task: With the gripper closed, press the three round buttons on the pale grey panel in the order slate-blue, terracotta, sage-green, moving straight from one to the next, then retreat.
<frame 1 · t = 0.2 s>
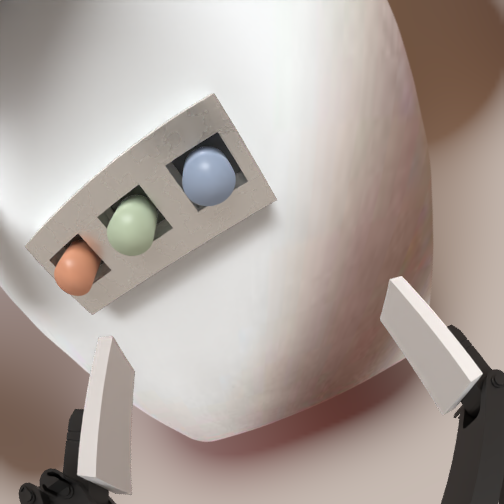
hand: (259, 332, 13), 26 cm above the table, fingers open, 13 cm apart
panel: (140, 207, 35), on the table
button slate: (207, 174, 29), point 5 cm above the table, slide at 0.0 cm
button terracotta: (78, 267, 32), point 5 cm above the table, slide at 0.0 cm
button sage: (133, 224, 31), point 5 cm above the table, slide at 0.0 cm
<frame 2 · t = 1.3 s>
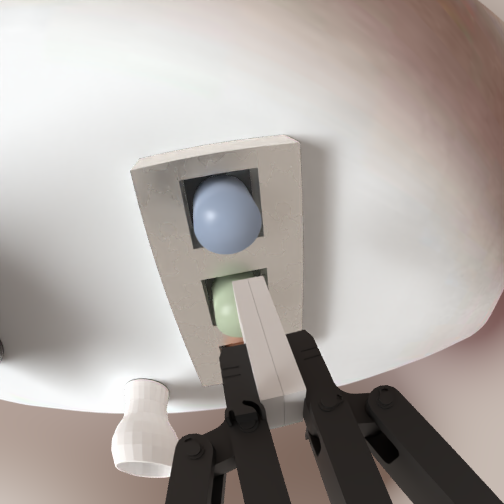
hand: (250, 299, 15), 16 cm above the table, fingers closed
panel: (232, 274, 34), on the table
cup: (146, 389, 43), on the table
button slate: (224, 212, 24), point 5 cm above the table, slide at 0.0 cm
button terracotta: (249, 360, 35), point 5 cm above the table, slide at 0.0 cm
button sage: (238, 302, 29), point 5 cm above the table, slide at 0.0 cm
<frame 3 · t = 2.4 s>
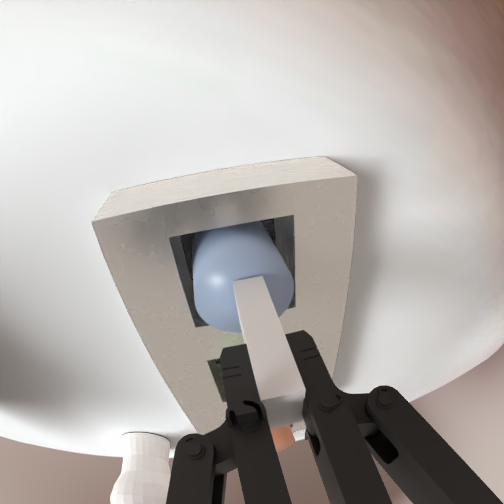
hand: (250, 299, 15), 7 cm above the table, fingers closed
panel: (245, 336, 25), on the table
cup: (145, 440, 35), on the table
button slate: (237, 270, 17), point 4 cm above the table, slide at 1.2 cm, touching gripper
button terracotta: (264, 427, 26), point 5 cm above the table, slide at 0.0 cm
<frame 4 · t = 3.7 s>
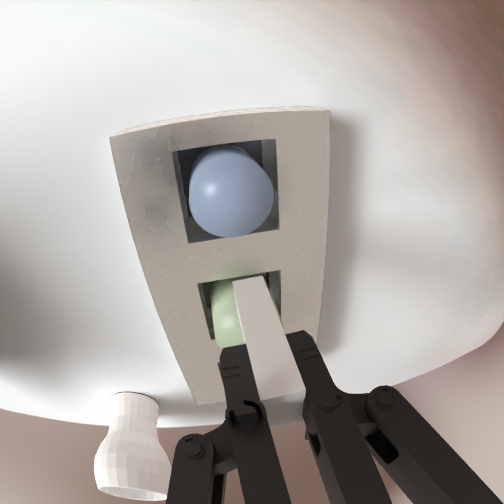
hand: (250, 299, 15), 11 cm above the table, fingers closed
panel: (235, 276, 28), on the table
cup: (134, 403, 37), on the table
button slate: (227, 186, 20), point 3 cm above the table, slide at 1.7 cm
button sage: (244, 312, 23), point 5 cm above the table, slide at 0.0 cm
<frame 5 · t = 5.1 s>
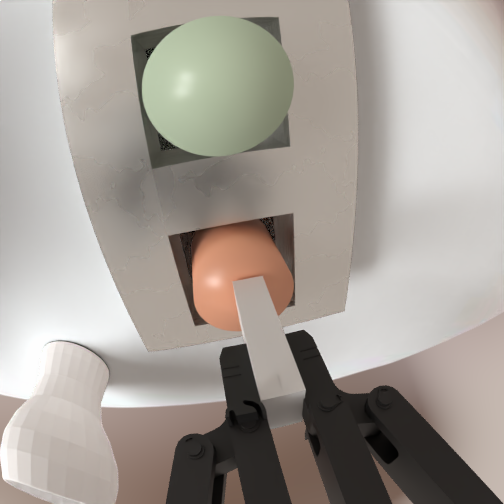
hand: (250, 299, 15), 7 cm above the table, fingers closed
panel: (207, 89, 15), on the table
cup: (75, 363, 24), on the table
button terracotta: (237, 268, 17), point 4 cm above the table, slide at 1.2 cm, touching gripper
button sage: (213, 86, 10), point 5 cm above the table, slide at 0.0 cm
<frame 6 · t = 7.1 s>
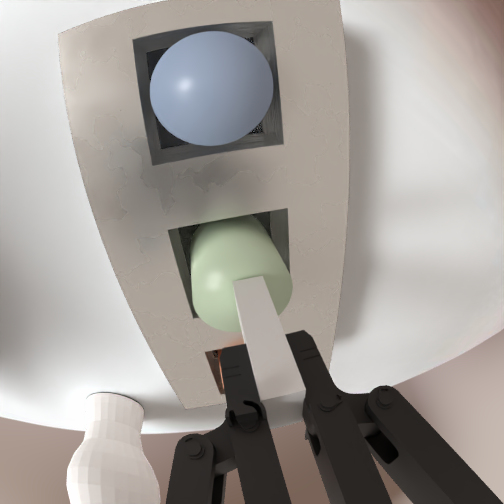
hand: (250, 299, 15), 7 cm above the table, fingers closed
panel: (226, 233, 21), on the table
cup: (115, 406, 30), on the table
button slate: (208, 88, 13), point 3 cm above the table, slide at 1.7 cm
button terracotta: (249, 357, 23), point 3 cm above the table, slide at 1.7 cm
button sage: (236, 269, 17), point 5 cm above the table, slide at 0.4 cm, touching gripper
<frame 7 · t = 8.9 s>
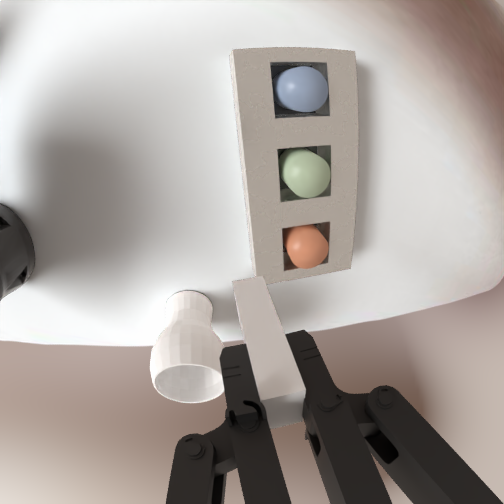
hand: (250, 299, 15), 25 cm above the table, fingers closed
panel: (294, 164, 37), on the table
cup: (189, 308, 46), on the table
button slate: (298, 89, 28), point 3 cm above the table, slide at 1.7 cm
button terracotta: (303, 242, 39), point 3 cm above the table, slide at 1.7 cm
button sage: (302, 170, 34), point 3 cm above the table, slide at 1.7 cm
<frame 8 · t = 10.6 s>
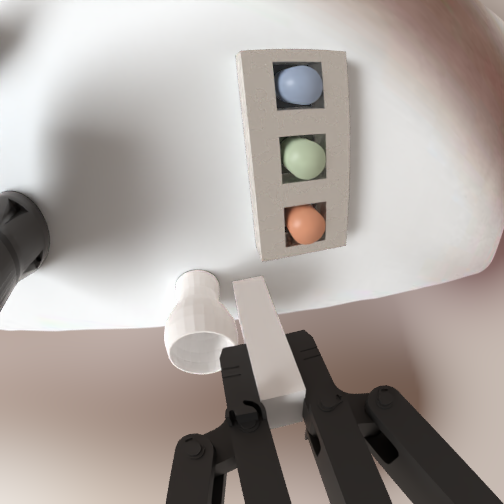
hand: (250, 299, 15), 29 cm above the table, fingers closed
panel: (293, 151, 41), on the table
cup: (197, 287, 50), on the table
button slate: (296, 85, 33), point 3 cm above the table, slide at 1.7 cm
button terracotta: (303, 221, 43), point 3 cm above the table, slide at 1.7 cm
button sage: (301, 156, 38), point 3 cm above the table, slide at 1.7 cm
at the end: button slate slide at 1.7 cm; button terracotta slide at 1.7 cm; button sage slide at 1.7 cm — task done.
